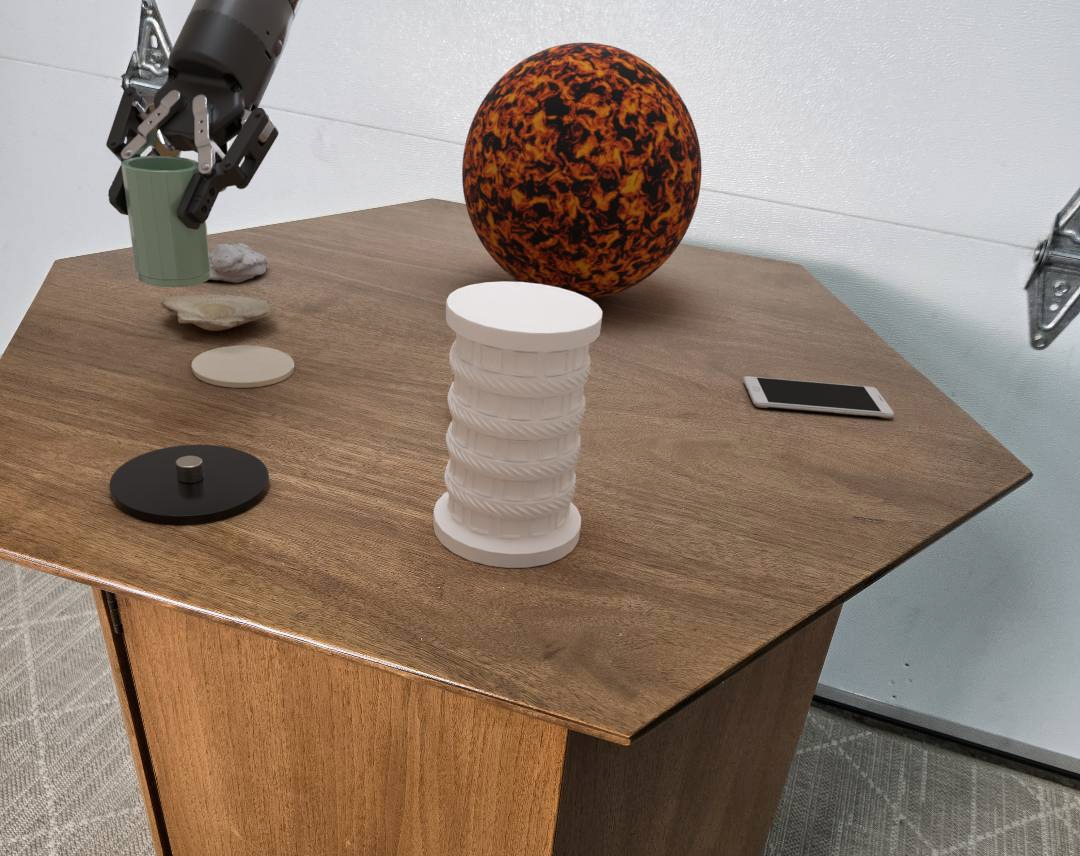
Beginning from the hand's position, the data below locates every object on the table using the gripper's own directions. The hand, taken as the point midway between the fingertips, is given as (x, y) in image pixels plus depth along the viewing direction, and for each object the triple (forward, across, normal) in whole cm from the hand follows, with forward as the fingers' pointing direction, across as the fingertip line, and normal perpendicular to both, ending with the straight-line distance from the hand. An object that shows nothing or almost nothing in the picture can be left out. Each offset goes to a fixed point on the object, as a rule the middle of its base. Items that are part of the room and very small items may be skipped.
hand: (152, 215), depth 78 cm
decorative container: (+14, +33, +12) cm, 38 cm away
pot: (+3, 0, +5) cm, 6 cm away
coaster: (+3, -3, +23) cm, 23 cm away
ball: (-28, +16, +55) cm, 63 cm away
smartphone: (-15, +51, +42) cm, 67 cm away
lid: (+19, +8, +7) cm, 22 cm away
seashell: (-3, -13, +29) cm, 32 cm away
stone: (-14, -23, +41) cm, 49 cm away
